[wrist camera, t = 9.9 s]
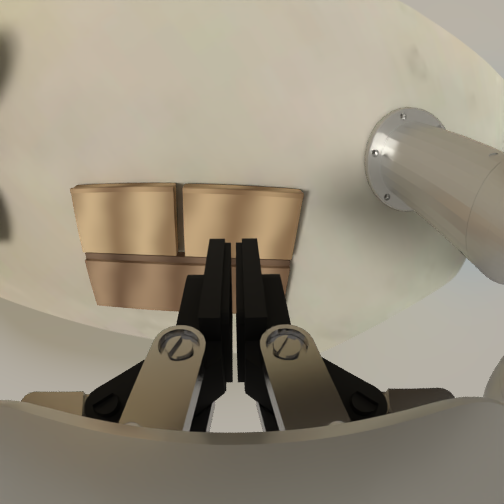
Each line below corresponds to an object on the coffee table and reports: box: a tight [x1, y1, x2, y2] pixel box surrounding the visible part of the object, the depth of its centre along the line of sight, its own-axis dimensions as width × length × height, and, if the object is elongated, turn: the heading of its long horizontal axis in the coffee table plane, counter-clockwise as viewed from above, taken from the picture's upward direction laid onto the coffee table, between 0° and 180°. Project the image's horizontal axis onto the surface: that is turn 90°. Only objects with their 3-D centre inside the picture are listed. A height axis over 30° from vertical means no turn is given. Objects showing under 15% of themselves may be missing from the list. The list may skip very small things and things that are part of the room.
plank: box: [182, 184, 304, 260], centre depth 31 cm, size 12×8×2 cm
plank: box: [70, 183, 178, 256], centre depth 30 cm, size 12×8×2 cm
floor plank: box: [85, 252, 290, 314], centre depth 35 cm, size 25×8×2 cm, turn 85°
